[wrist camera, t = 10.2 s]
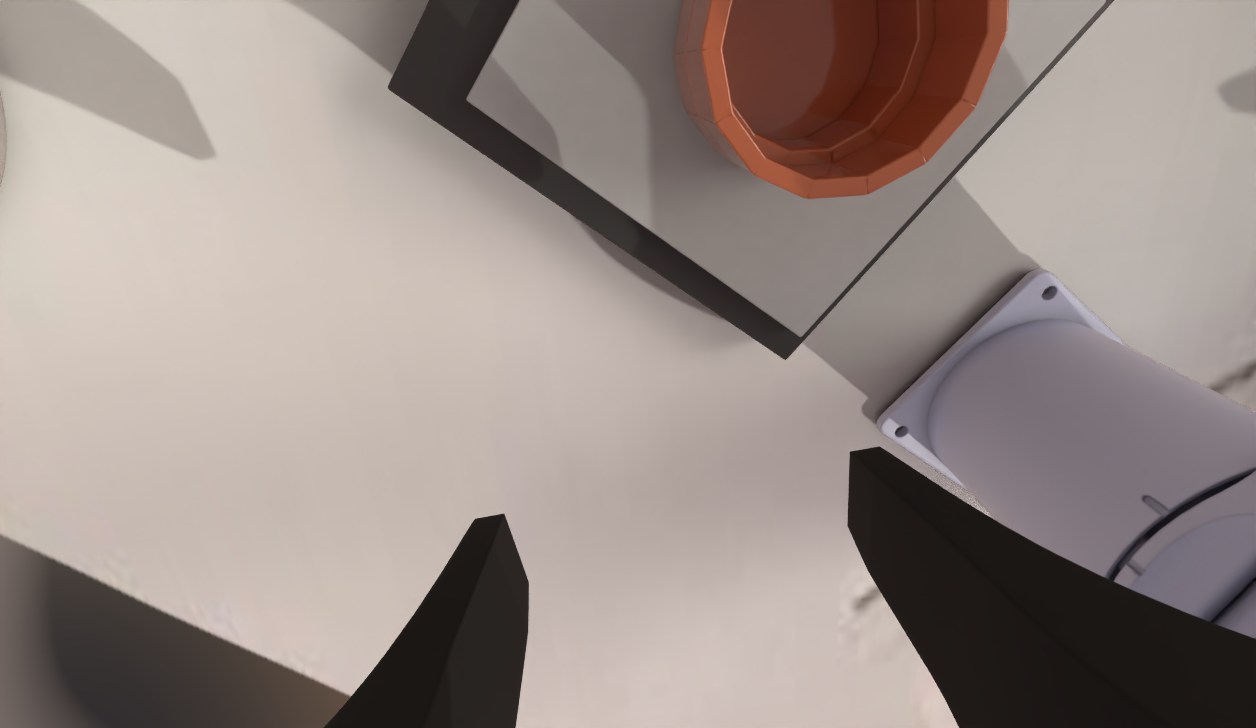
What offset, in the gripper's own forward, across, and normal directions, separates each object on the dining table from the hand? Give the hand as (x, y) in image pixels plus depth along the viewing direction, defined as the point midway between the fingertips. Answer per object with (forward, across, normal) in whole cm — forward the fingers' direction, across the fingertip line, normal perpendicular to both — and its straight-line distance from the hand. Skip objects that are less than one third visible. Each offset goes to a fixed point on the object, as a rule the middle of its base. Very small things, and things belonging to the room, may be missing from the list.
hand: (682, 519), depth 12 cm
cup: (+7, -5, -8) cm, 11 cm away
